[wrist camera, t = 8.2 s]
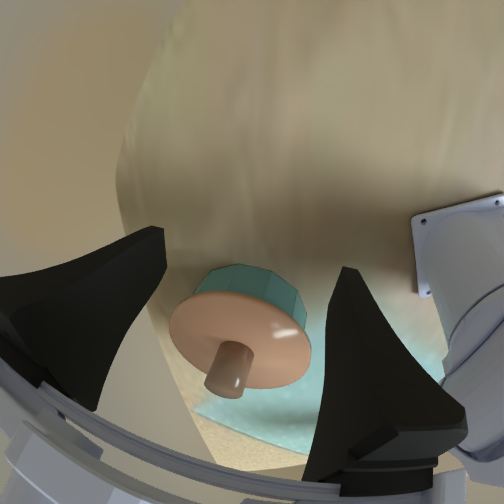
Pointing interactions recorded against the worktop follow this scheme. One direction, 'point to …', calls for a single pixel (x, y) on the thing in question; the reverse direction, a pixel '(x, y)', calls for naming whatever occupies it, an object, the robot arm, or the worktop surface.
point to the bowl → (256, 288)
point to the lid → (239, 342)
